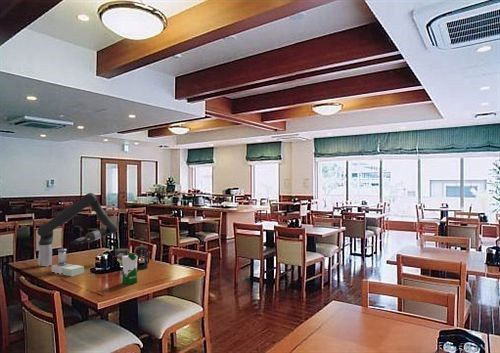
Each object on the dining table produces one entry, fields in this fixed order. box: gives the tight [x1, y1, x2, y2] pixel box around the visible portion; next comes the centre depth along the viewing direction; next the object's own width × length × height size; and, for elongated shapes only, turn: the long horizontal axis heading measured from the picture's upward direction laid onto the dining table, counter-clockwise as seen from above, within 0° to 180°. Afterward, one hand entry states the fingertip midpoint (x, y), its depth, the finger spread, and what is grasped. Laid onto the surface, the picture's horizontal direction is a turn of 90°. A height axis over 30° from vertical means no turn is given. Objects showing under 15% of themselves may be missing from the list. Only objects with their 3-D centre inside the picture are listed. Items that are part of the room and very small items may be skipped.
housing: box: [57, 248, 68, 266], centre depth 267 cm, size 6×6×12 cm
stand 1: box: [51, 263, 73, 275], centre depth 267 cm, size 10×10×5 cm
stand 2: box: [62, 264, 85, 277], centre depth 261 cm, size 10×10×5 cm
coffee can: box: [114, 247, 130, 266], centre depth 280 cm, size 10×10×14 cm
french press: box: [135, 238, 150, 271], centre depth 278 cm, size 12×9×23 cm
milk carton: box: [121, 252, 138, 286], centre depth 239 cm, size 9×9×20 cm
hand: (73, 243), depth 275 cm, fingers open, 8 cm apart
